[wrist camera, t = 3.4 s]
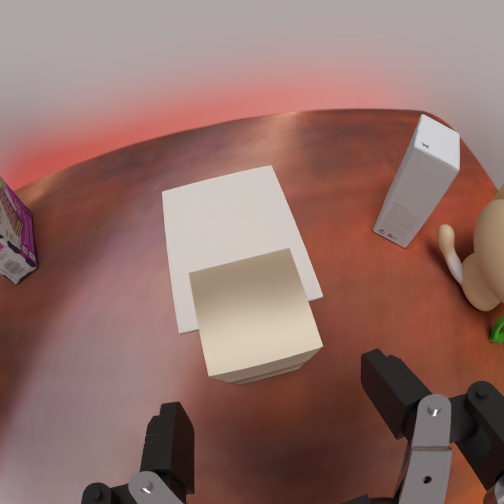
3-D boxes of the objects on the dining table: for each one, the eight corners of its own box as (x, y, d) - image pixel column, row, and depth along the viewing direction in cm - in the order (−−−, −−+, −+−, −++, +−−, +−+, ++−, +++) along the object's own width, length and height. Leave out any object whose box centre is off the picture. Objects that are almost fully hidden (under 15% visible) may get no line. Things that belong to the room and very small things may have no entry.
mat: (322, 297, 25) (323, 296, 25) (180, 334, 24) (179, 333, 24) (271, 167, 33) (271, 165, 32) (163, 193, 32) (162, 191, 31)
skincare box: (406, 250, 27) (460, 172, 16) (371, 232, 28) (412, 145, 17) (417, 210, 29) (461, 133, 18) (386, 194, 30) (420, 111, 20)
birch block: (297, 369, 22) (323, 346, 12) (238, 384, 22) (209, 376, 11) (281, 315, 24) (289, 247, 14) (224, 329, 24) (188, 272, 14)
